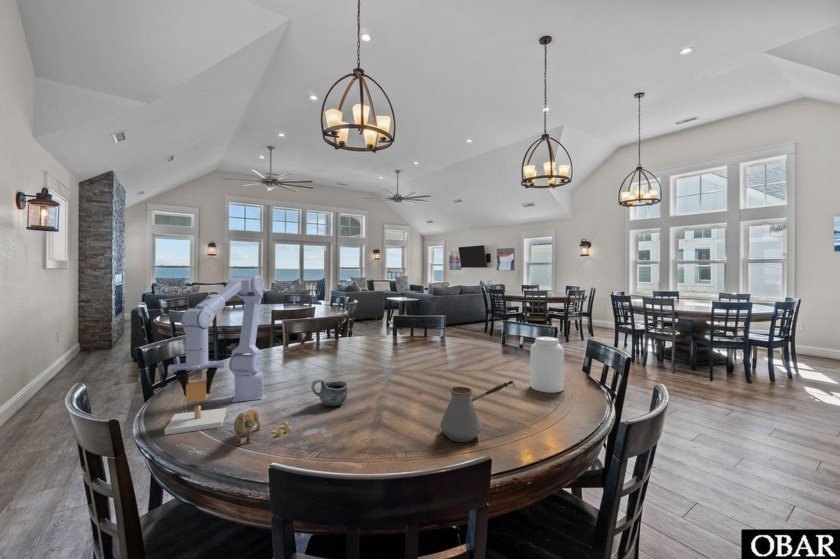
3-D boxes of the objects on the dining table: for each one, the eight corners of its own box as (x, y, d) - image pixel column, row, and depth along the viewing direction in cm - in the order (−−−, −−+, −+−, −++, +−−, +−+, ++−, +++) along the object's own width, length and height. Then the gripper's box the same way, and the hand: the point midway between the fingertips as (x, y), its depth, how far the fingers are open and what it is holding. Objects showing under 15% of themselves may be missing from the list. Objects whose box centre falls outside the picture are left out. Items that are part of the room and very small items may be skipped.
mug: (353, 404, 126) (353, 375, 126) (321, 414, 117) (321, 383, 117) (337, 397, 133) (337, 370, 133) (306, 407, 124) (306, 377, 123)
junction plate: (226, 412, 118) (226, 397, 118) (221, 427, 107) (221, 410, 107) (174, 418, 113) (174, 402, 113) (164, 434, 102) (164, 417, 102)
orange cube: (208, 395, 113) (208, 378, 113) (205, 400, 109) (205, 383, 108) (189, 397, 111) (189, 380, 111) (186, 402, 107) (185, 385, 107)
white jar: (570, 389, 143) (570, 338, 143) (550, 395, 136) (550, 341, 136) (543, 381, 154) (543, 334, 153) (523, 386, 146) (523, 336, 146)
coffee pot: (444, 446, 96) (444, 389, 96) (436, 428, 107) (437, 377, 107) (522, 442, 99) (523, 386, 98) (507, 424, 110) (507, 374, 110)
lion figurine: (254, 449, 94) (254, 414, 94) (231, 452, 92) (231, 416, 92) (262, 426, 108) (261, 395, 108) (242, 428, 107) (242, 397, 106)
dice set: (286, 428, 108) (286, 421, 108) (295, 433, 105) (295, 426, 105) (269, 433, 104) (269, 427, 104) (278, 439, 101) (278, 432, 101)
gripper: (164, 353, 103) (165, 401, 103) (223, 349, 109) (223, 395, 109) (171, 348, 110) (171, 393, 110) (225, 345, 115) (225, 388, 115)
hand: (197, 394), depth 110 cm, fingers closed on orange cube, 5 cm apart
